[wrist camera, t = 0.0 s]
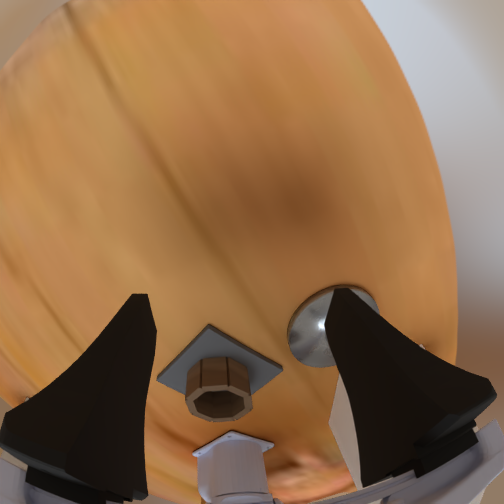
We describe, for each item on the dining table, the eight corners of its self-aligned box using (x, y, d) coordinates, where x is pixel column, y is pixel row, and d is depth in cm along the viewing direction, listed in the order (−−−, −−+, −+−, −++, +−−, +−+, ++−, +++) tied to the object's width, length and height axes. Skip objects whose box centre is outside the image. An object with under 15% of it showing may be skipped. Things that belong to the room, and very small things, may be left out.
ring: (223, 401, 27) (225, 427, 23) (177, 380, 25) (174, 407, 21) (260, 373, 25) (265, 400, 22) (212, 348, 23) (212, 376, 20)
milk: (340, 368, 27) (430, 574, 4) (421, 344, 28) (527, 496, 4) (328, 423, 32) (382, 577, 8) (398, 401, 33) (466, 530, 9)
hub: (326, 371, 27) (339, 400, 23) (266, 336, 24) (274, 369, 20) (389, 314, 25) (410, 339, 21) (339, 265, 22) (361, 290, 18)
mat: (226, 408, 28) (226, 412, 27) (157, 376, 25) (156, 380, 25) (281, 366, 26) (283, 370, 26) (208, 324, 23) (208, 328, 23)
